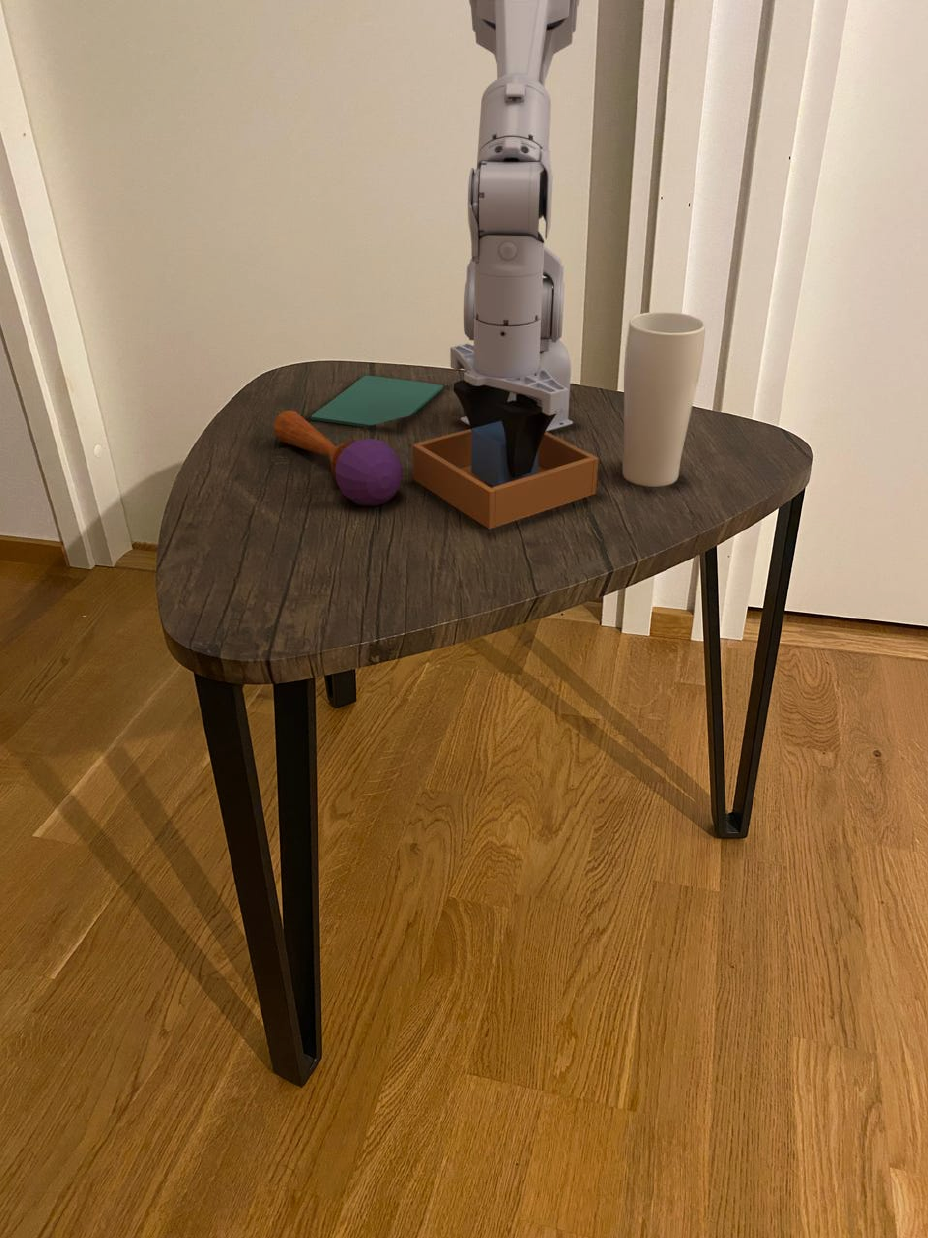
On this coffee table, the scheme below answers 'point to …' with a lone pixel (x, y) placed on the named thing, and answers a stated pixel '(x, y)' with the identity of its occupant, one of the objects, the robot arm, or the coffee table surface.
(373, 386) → the mat
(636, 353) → the white vase
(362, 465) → the maraca
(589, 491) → the bin
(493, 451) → the block
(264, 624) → the coffee table surface
